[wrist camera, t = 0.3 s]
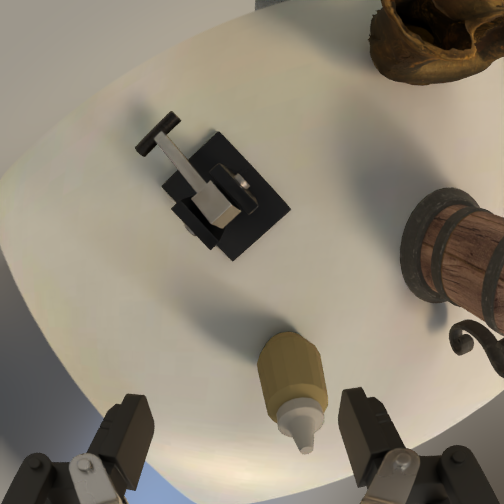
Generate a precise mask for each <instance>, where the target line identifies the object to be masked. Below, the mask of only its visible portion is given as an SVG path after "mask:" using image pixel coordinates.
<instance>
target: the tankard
mask: <svg viewBox="0 0 504 504" xmlns="http://www.w3.org/2000/svg"><path fill="white" fill-rule="evenodd" d="M400 262H401V269H402V273H403V276H404V279H405V282H406V284H407V285H408V287H409V289H410V290H411V291H412V292H413V293H414V294H415V295H416V296H417V297H418V298H420V299H422V300H423V301H427V302H430V303H442V302H446V301H448V302H450V303H452V304H453V305H455V306H459V307H462V308H464V309H466V310H467V311H469V312H470V313H472V314H473V315H475V316H477V317H478V318H480V319H481V320H483V321H484V322H486V324H487V325H488V326H489V327H490V328H491V329H493V330H494V331H496V332H497V333H499V334H500V335H502V336H504V218H503V217H500V216H497V215H494V214H493V213H491V212H490V211H488V210H485V209H482V208H480V207H479V205H478V204H477V202H476V201H475V200H474V199H473V198H472V197H471V196H470V195H469V194H468V193H466V192H464V191H462V190H460V189H456V188H443V189H440V190H437V191H434V192H433V193H431V194H429V195H428V196H426V197H425V198H424V199H423V200H422V201H421V202H420V203H419V204H418V205H417V207H416V208H415V210H414V211H413V212H412V214H411V216H410V218H409V220H408V222H407V224H406V227H405V230H404V233H403V236H402V242H401V248H400ZM462 330H465V331H467V332H468V333H470V334H471V335H472V336H474V337H475V338H476V339H477V340H478V342H479V343H480V344H481V345H482V347H483V349H484V350H485V352H486V354H487V356H488V358H489V360H490V362H491V364H492V366H493V368H494V369H495V371H496V372H497V373H498V374H499V376H501V377H503V378H504V338H503V339H501V340H499V341H497V339H496V338H495V336H494V335H493V334H492V333H491V332H490V331H489V330H488V329H487V328H486V327H485V326H484V325H482V324H480V323H478V322H476V321H473V320H463V321H461V322H458V323H456V324H454V325H453V326H452V327H451V329H450V332H449V340H450V344H451V347H452V349H453V351H454V352H455V353H456V354H457V355H463V354H465V353H467V352H469V351H471V350H472V349H473V346H474V341H473V338H472V337H471V336H470V335H468V334H464V335H462Z"/></svg>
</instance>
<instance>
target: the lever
mask: <svg viewBox="0 0 504 504" xmlns="http://www.w3.org/2000/svg"><path fill="white" fill-rule="evenodd" d="M180 122H181V119H180V118H179V117H178V116H177V115H176V114H175V113H174V112H172V111H170V112H169V113H168V114H167V115H166V116H165V117H164V118H163V119H162V120H161V121H160V122H159V123H158V124H157V125H156V126H155V127H154V128H153V129H152V130H151V131H150V132H149V133H148V134H147V135H146V136H145V137H144V138H143V139H142V140H141V141H140V142H139V143H138V145H137V146H136V147H135V149H136V151H137V152H138V153H139V154H140V155H142V156H143V157H146V155H147V154H148V153H149V152H150V151H151V150H152V149H153V148H154V147H155V146H156V145H157V144H158V145H159V147H160V148H161V149H162V150H163V152H164V153H165V154H166V155H167V156H168V158H169V159H170V160H171V161H172V163H173V164H174V165H175V166H176V168H177V169H178V170H179V171H180V173H181V174H182V175H183V176H184V178H185V179H186V180H187V181H188V183H189V184H190V185H191V186H192V188H193V189H194V190H195V191H196V193H197V194H196V195H195V196H194V197H193V198H192V199H191V200H192V201H193V202H194V204H195V205H196V206H197V207H198V209H199V210H200V211H201V212H202V214H203V215H204V216H205V218H206V219H207V220H208V221H209V223H210V224H212V225H214V226H217V227H219V228H221V229H223V228H224V227H225V226H226V225H227V224H228V223H229V222H230V221H231V220H232V219H233V218H234V217H236V216H237V215H238V214H239V213H240V212H241V210H240V209H239V207H238V206H237V205H236V204H235V203H234V202H233V200H232V199H231V198H230V197H229V196H228V195H227V193H226V192H225V191H224V190H223V189H222V188H221V187H220V186H218V185H217V184H216V183H214V182H213V181H212V180H210V181H209V182H208V183H207V181H206V180H205V179H204V178H203V177H202V176H201V174H200V173H199V172H198V171H197V170H196V169H195V167H194V166H193V165H192V164H191V163H190V161H189V160H188V159H187V158H186V157H185V156H184V154H183V153H182V152H181V151H180V150H179V149H178V147H177V146H176V145H175V144H174V143H173V142H172V140H171V139H170V138H169V137H168V136H167V134H168V133H169V132H170V131H171V130H172V129H173V128H174V127H175V126H176V125H178V124H179V123H180Z"/></svg>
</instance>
